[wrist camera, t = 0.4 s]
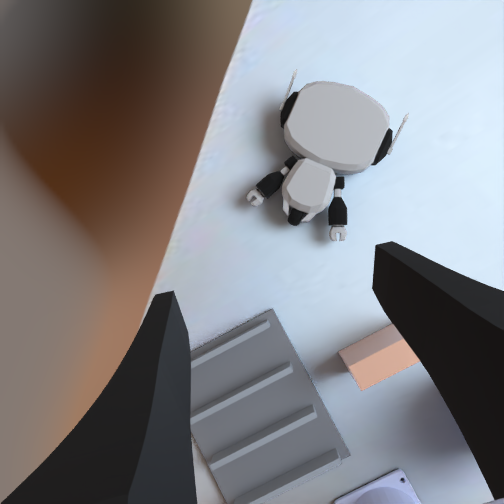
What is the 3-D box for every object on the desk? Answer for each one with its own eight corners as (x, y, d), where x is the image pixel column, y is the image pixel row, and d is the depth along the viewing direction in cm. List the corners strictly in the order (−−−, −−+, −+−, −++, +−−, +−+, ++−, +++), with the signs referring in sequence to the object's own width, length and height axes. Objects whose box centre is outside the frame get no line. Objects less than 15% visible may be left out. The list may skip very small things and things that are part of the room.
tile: (416, 337, 38) (441, 349, 32) (349, 371, 38) (361, 390, 32) (404, 316, 38) (428, 325, 32) (337, 351, 38) (348, 366, 32)
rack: (349, 452, 38) (354, 465, 35) (233, 510, 38) (229, 528, 36) (272, 308, 39) (272, 311, 36) (161, 367, 40) (153, 374, 37)
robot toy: (342, 248, 40) (400, 122, 39) (349, 248, 35) (414, 106, 34) (242, 204, 41) (296, 81, 40) (236, 199, 36) (297, 60, 35)
